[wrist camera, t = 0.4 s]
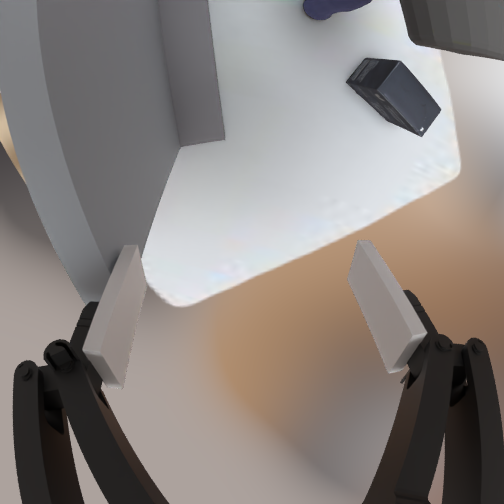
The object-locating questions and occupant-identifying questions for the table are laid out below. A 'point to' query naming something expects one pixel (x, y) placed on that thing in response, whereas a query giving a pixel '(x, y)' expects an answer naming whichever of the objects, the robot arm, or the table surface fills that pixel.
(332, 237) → the table surface
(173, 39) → the panel
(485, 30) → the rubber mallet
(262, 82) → the table surface
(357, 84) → the box
